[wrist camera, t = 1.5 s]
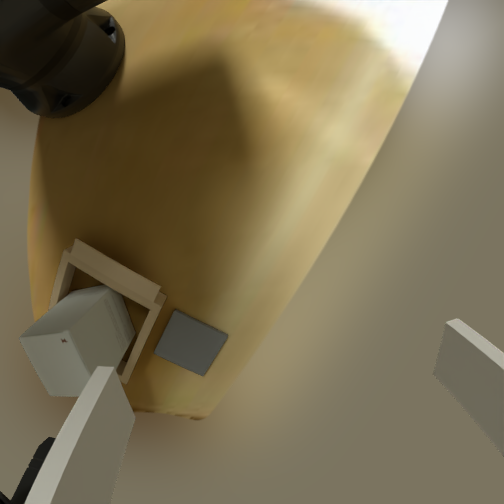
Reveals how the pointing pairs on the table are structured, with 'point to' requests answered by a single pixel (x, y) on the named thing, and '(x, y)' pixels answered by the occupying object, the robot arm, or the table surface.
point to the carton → (117, 280)
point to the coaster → (190, 343)
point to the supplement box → (78, 339)
